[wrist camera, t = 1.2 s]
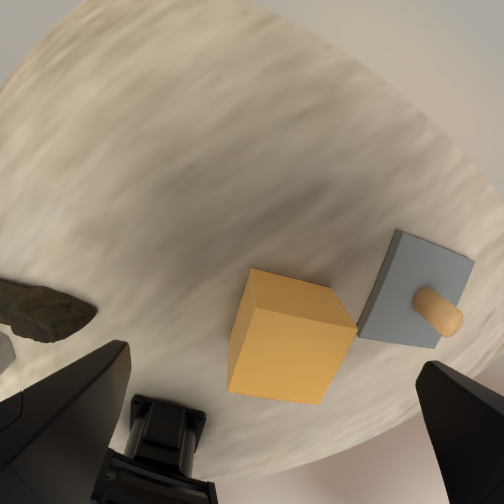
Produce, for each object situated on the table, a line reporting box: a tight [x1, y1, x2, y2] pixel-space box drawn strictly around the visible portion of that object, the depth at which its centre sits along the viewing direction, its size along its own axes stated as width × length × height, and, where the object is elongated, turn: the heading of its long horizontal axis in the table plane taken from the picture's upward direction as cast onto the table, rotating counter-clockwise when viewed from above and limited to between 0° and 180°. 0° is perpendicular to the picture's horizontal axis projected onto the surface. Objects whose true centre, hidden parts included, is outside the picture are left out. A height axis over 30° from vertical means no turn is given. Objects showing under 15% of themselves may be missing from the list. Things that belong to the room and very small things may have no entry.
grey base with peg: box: [356, 229, 475, 349], centre depth 18 cm, size 8×8×5 cm
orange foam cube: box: [227, 268, 358, 405], centre depth 18 cm, size 6×6×6 cm
